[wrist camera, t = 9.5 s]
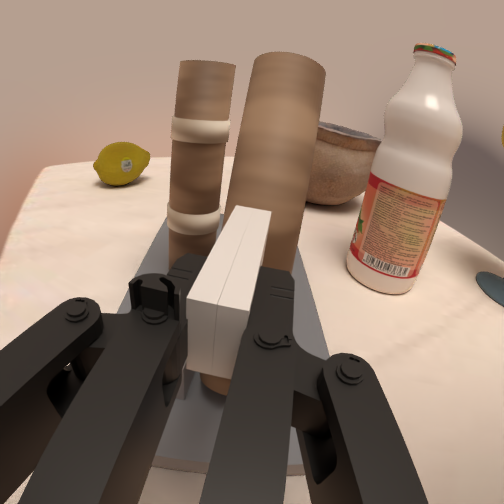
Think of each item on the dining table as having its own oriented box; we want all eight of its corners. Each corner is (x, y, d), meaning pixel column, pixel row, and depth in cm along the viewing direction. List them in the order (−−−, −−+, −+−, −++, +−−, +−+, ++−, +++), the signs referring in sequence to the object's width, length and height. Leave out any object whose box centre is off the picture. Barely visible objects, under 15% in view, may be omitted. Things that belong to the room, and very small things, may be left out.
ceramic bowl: (250, 176, 67) (260, 109, 60) (339, 185, 72) (351, 125, 64) (276, 216, 48) (292, 120, 41) (388, 225, 53) (410, 146, 46)
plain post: (264, 403, 15) (330, 59, 13) (192, 387, 16) (250, 47, 13) (268, 369, 19) (321, 88, 17) (208, 356, 19) (257, 78, 17)
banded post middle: (216, 265, 30) (238, 68, 21) (212, 292, 26) (237, 63, 17) (172, 261, 29) (184, 64, 21) (162, 287, 26) (172, 59, 17)
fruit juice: (373, 301, 31) (443, 34, 18) (330, 257, 39) (377, 34, 25) (425, 291, 34) (489, 71, 21) (383, 253, 42) (430, 61, 28)
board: (287, 235, 43) (294, 201, 40) (342, 471, 15) (377, 436, 12) (170, 222, 41) (171, 187, 39) (78, 447, 13) (48, 405, 11)
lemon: (92, 193, 48) (91, 148, 44) (95, 180, 54) (94, 140, 50) (152, 188, 53) (153, 144, 49) (147, 176, 59) (148, 137, 55)
